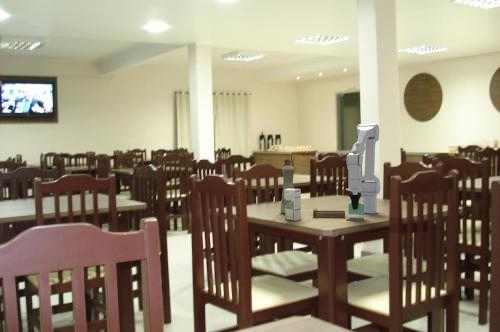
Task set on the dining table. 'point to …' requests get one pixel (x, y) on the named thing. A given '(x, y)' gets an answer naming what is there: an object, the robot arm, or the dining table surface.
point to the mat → (354, 218)
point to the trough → (328, 214)
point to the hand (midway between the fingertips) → (355, 208)
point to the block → (356, 211)
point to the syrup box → (292, 204)
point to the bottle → (287, 180)
